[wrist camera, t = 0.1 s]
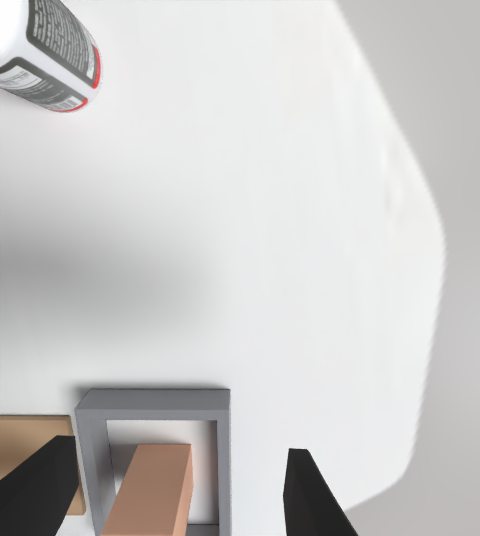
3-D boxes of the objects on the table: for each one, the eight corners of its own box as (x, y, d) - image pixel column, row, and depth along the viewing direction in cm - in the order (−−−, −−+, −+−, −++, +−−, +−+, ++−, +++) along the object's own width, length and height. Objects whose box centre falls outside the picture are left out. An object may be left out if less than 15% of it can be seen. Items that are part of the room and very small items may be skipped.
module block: (193, 485, 23) (176, 585, 17) (142, 485, 23) (108, 585, 17) (191, 444, 22) (172, 535, 16) (138, 443, 22) (100, 534, 16)
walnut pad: (86, 510, 23) (83, 515, 23) (7, 509, 23) (3, 514, 23) (69, 416, 21) (66, 420, 21) (-17, 415, 21) (-22, 419, 21)
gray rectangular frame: (231, 532, 24) (230, 562, 22) (111, 531, 24) (99, 561, 22) (230, 389, 20) (229, 409, 18) (90, 389, 20) (74, 409, 19)
